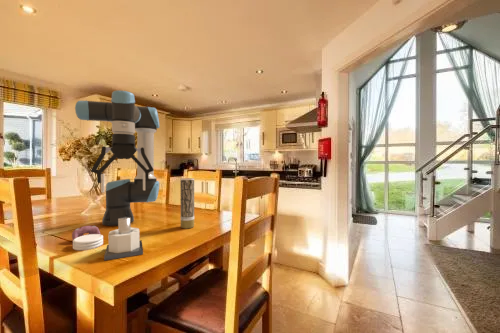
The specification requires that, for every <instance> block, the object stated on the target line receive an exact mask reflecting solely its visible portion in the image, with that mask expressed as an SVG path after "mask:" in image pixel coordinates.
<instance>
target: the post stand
mask: <svg viewBox="0 0 500 333" xmlns="http://www.w3.org/2000/svg"><path fill="white" fill-rule="evenodd" d="M117 226H118V234H127V233H130V232H131V227H132V226H131V223H130V217H122V218H119V219H118V225H117ZM139 240H140V247H139V248H136V249H134V250H132V251H128V252H122V253H114V252H109V244H107V245H106V248H105V253H104V255H103V256H104V258H103V259H104V261H110V260H116V259H122V258H129V257H135V256H140V255H141V256H142V255H144V247H143V240H142V239H139Z"/></svg>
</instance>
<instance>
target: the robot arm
mask: <svg viewBox="0 0 500 333" xmlns="http://www.w3.org/2000/svg"><path fill="white" fill-rule="evenodd" d="M110 99H111V100H110V101H109V102H108V101H94V100H87V99H86V100H78V101H76V103H75V107H74V109H75V114H76V117H77V118H78V120H81V121H89V122H90V121H91V122H93V121H94V122H95V121H96V122H107V123H111V132H112V133H113V134H111V147H107V146H102V147H101V152H100V154H99V156H98V157H97V159H96V161H95V163H94V164H93V166H92V168H91V169H90V172H91V173H94V174H96V176H97V178H96V181H97V182H96V183H97V184H100V192H101V193H105V211H104V214H103V217H102V222H101V223H102V225H103V226H107V227H108V226H109V227H110V226H111V227H112V226H113V227H115V226H118V219H119V218H122V217H130V224H131V223H133V222H134V221H135V217H134V214H133V211H132V208H131V203H132V204H133V203H136V204H137V203H151V202H153V203H154V202H156V201H157V199H158V196H159V193H160V192H159V191H160V181H159V180H157V177H156V176H155V173H154V171H155V170H154V169H155V162H154V161H155V155H154V154H155V153H154V152H155V151H154V150H155V145H154V144H155V136H154V134H155V133H157V130H158V129H160V119H159V113H158V110H157V108H156V107H153V106H152V107H151V106H136V100H135V94H134V93H133V92H130V91H127V90H120V89H119V90H114V91H112V92H111V98H110ZM135 133H137V134H136V135H137V136H135ZM136 137H137V143H136ZM136 145H137V148H136ZM109 152H111V153H112V154H113V155H112V156H110V158H109V159H108V160H107V161H106V162H105V163H103V165H102V167H100V168H99V166H100V164H101V163H102V162H103V159H104V158H105V155H106V154H107V153H109ZM136 152H137V155H136V156H137V157H136V156H135V154H136ZM116 159H117V160H129V159H132V160H133V162H135V164H137V166H136V167H137V168H136V171H137V172H136V173H137V174H136V176H135V177H134V178H133V181H131V180H130V178H126V179H125V178H124V179H118V180H112V181H108V182H107V183H106V184H105V173H103V172H104V171H105V170H106V169H107V168H108V167H109V166H110V165H111V164H112V163H113V162H114V161H115V160H116ZM98 168H99V169H98Z"/></svg>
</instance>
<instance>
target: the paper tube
mask: <svg viewBox="0 0 500 333" xmlns="http://www.w3.org/2000/svg"><path fill="white" fill-rule="evenodd" d="M194 227H195V178H193V177H183V178H182V177H181V178H180V228H182V229H192V228H194Z"/></svg>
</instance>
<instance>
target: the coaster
mask: <svg viewBox="0 0 500 333" xmlns="http://www.w3.org/2000/svg"><path fill="white" fill-rule="evenodd" d="M100 234H101V233H100ZM100 234H90V235H88V234H83V235H84V236H80V237H77V238H75V239H74V240H73V239H72V249H73V250H75V251H87V250H92V249H97V248H100V247H102V245H104V235H103V234H101V235H100Z"/></svg>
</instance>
